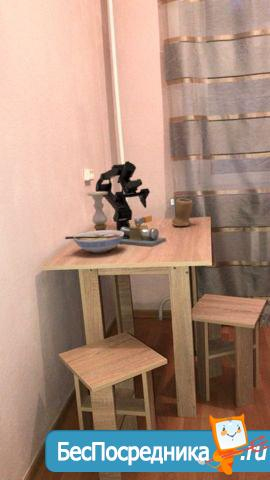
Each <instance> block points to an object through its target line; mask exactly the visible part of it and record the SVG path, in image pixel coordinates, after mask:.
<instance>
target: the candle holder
mask: <svg viewBox="0 0 270 480" xmlns="http://www.w3.org/2000/svg"><path fill="white" fill-rule="evenodd" d="M86 194H87V196H88V197H92V199H93V200H94V203H93V208H94V210H95V212H94V214H93V216H92V219H91V220H92V222H93V223H94V224H95V225H94V227H93V228H94V230H95V231H101V230H107V227H108V226H107V224H106V223H107V221H108V217H107V215H106V214H105V212H104V211H103V208H104V203H103V198H104V197H103V196H104V195H106V194H108V192H105V191H103V192H96V191H92V192H91V191H90V192H87V193H86Z"/></svg>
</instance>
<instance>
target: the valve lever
mask: <svg viewBox="0 0 270 480" xmlns="http://www.w3.org/2000/svg"><path fill="white" fill-rule="evenodd" d="M152 217H153V216H152V214H151V215H149V214H148V215H144V216H142V217H140V218H136V219H135V218H134V226H136V225H142V224H149V223H151V222H152V221H153V218H152Z"/></svg>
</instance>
